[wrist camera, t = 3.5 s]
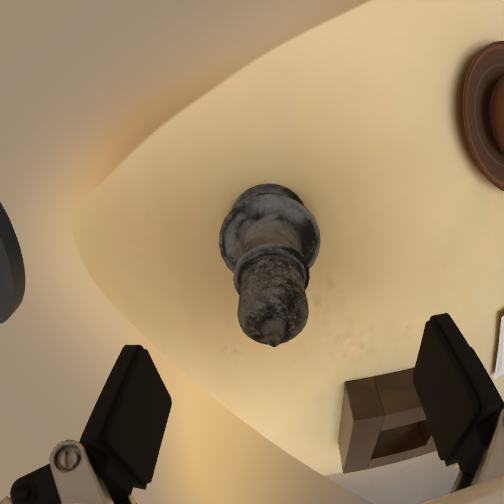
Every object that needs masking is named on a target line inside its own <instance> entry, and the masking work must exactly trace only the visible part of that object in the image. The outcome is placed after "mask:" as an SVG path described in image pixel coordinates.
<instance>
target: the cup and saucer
mask: <svg viewBox="0 0 504 504" xmlns="http://www.w3.org/2000/svg"><path fill="white" fill-rule="evenodd" d="M463 118H464V125H465V131H466V136H467V140H468V143H469V146H470V149H471V152H472V154H473V156H474V159H475V161H476V163H477V164H478V166H479V168H480V169H481V171H482V172H483V174H484V175H485V176H486V177H487V178H488V179H489V180H490V182H492V183H493V184H494V185H495V186H496V187H498V188H499V189H501V190H502V191H504V41H498V42H494V43H491V44H489V45H487V46H486V47H484V48H483V49H482V50H481V51H479V52H478V54H477V55H476V56H475V57H474V59H473V61H472V62H471V65H470V67H469V69H468V72H467V75H466V79H465V84H464V90H463Z"/></svg>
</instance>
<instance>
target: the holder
mask: <svg viewBox="0 0 504 504" xmlns="http://www.w3.org/2000/svg"><path fill="white" fill-rule="evenodd" d="M413 372H414V368H413V369H408V370H404V371H400V372H395V373H390V374H386V375H381V376H376V377H371V378H366V379H360V380H355V381H349V382H345V385H344V396H343V406H342V416H341V425H340V433H339V441H338V443H339V450H340V456H341V462H342V469H343V473H350V472H355V471H360V470H365V469H370V468H375V467H379V466H384V465H388V464H392V463H396V462H400V461H403V460H407V459H411V458H414V457H418V456H421V455H424V454H428V453H431V452H434V451H437V449H436V446H435V443H434V440H433V437H432V434H431V431H430V428H429V425H428V422H427V419H426V416H425V414H424V411H423V408H422V405H421V403H420V400H419V397H418V395H417V392H416V389H415V387H414V384H413Z"/></svg>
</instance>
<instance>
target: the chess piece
mask: <svg viewBox="0 0 504 504" xmlns="http://www.w3.org/2000/svg"><path fill="white" fill-rule="evenodd" d="M219 247H220V251H221V256H222V258H223V260H224V262H225V263H226V265H227V267H228V268H229V269H230V270H231V271H232V272H233V273H234V277H233V281H234V285H235V289H236V290H237V292H238V294H239V295H240V296H239V305H238V319H239V324H240V327H241V328H242V330H243V332H244V333H245V334H246V335H247V336H248V337H250V338H251V339H253V340H255V341H257V342H259V343H262V344H268V345H270V346H272V347H276V346H278V345H279V344H281V343H284V342H287V341H289V340H291V339H293V338H294V337H296V336H297V335H298V334H299V333H300V332H301V331H302V330H303V328H304V327H305V325H306V322H307V318H308V313H309V312H308V302H307V297H306V293H305V290H306V288H307V286H308V282H309V278H310V276H309V269H310V268H311V266H312V265H313V263H314V261H315V260H316V258H317V256H318V252H319V247H320V232H319V229H318V226H317V223H316V221H315V218H314V217H313V216H312V215H311V213H310V212H309V211H308V209H307V208H305V207H304V204H303V202H302V201H301V200H300V198H299V197H298V196H297V195H296V194H295V193H294V192H292V191H291V190H289V189H288V188H285V187H283V186H280V185H275V184H263V185H257V186H255V187H252V188H250V189H248V190H246V191H245V192H244V193H243V194H241V195H240V196H239V197H238V199H237V200H236V202H235V203H234V205H233V207H232V210H231V211H230V213H229V214H228V216H227V217H226V218H225V220H224V222H223V225H222V227H221V230H220V236H219Z"/></svg>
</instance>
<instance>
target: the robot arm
mask: <svg viewBox="0 0 504 504" xmlns="http://www.w3.org/2000/svg"><path fill="white" fill-rule="evenodd" d="M413 384H414V387H415V389H416V392H417V395H418V397H419V400H420V403H421V405H422V408H423V411H424V414H425V416H426V419H427V422H428V425H429V428H430V431H431V434H432V437H433V440H434V443H435V446H436V449H437V452H438V455H439V458H440V459H441V460H445V464H446V466H449V465H452V464H455V463H458V466H459V469H460V472H459V474H458V477H457V479H456V481H455V483H454V485H453V487H452V489H451V491H450V493H449V494H447V495H445V496H442V497H438V498H435V499H432V500H429V501H426V502H422V503H419V504H504V402H503V400H502V398H501V396H500V394H499V393H498V391H497V389H496V387H495V385H494V383H493V382H492V380H491V378H490V376H489V375H488V373H487V371H486V369H485V368H484V366H483V364H482V363H481V361H480V359H479V358H478V356H477V354H476V353H475V351H474V350H473V348H472V347H470V346H469V345H468V343H467V341H466V340H465V338H464V337H463V335H462V333H461V332H460V330H459V329H458V327H457V326H456V324H455V323H454V321H453V320H452V318H451V317H450V315H449V314H448V313H444V314H439V315H434V316H431V318H430V320H429V321H427V322H426V324H425V329H424V333H423V337H422V341H421V346H420V350H419V353H418V357H417V361H416V365H415V368H414V372H413ZM171 405H172V402H171V397H170V395H169V393H168V391H167V389H166V387H165V385H164V383H163V381H162V379H161V377H160V375H159V373H158V371H157V369H156V367H155V365H154V363H153V361H152V359H151V357H150V354H149V352H148V351H147V350H146V349H144V348H143V347H142V346H141V345H125V346H124V347H123V349H122V351H121V353H120V355H119V357H118V359H117V361H116V363H115V365H114V367H113V369H112V371H111V373H110V375H109V377H108V379H107V381H106V383H105V386H104V388H103V390H102V392H101V394H100V396H99V398H98V400H97V403H96V405H95V407H94V409H93V411H92V413H91V416H90V418H89V420H88V423H87V425H86V427H85V429H84V432H83V434H82V436H81V439H80V442H77V441H74V440H66V441H62V442H61V443H59V444H57V446H55V447H54V449H53V450H52V452H51V455H50V464H48V465H46V466H44V467H42V468H40V469H38V470H35V471H34V472H31V473H29V474H27V475H25V476H23V477H21V478H19V479H17V480H16V481H15V482H14V484H13V485H12V488H11V493H10V495H11V498H9V497H8V496H7V497H5V498H4V499H3V500H2V501H1V502H0V504H136V502H135V500H134V499H133V497H132V495H131V493H132V489H133V487H135V488H140V489H146V486H147V483H150V482H151V481H152V477H153V473H154V469H155V465H156V462H157V458H158V454H159V450H160V446H161V442H162V439H163V435H164V431H165V427H166V424H167V420H168V416H169V413H170V409H171Z"/></svg>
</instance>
